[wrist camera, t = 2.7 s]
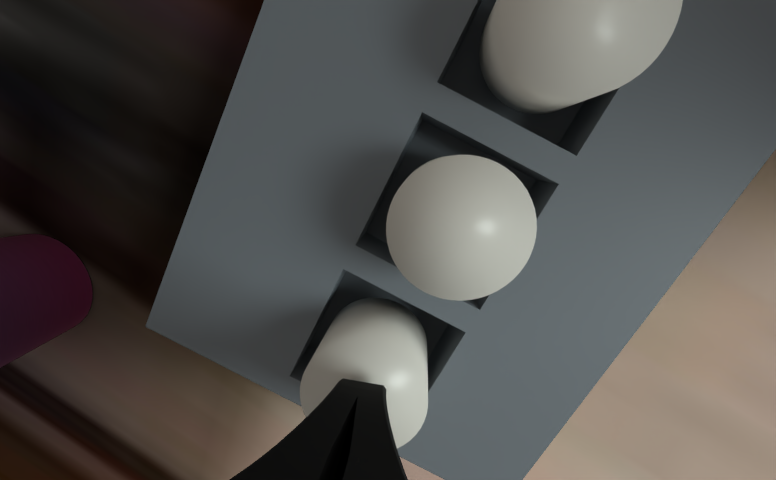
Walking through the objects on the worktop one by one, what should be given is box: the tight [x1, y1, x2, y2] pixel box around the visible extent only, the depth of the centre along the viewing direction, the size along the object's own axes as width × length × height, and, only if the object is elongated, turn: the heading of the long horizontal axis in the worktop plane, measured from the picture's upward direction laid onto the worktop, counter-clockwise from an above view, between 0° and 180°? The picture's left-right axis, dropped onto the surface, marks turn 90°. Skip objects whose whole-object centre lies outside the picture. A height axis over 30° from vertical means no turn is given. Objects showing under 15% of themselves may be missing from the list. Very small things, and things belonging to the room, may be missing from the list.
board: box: [145, 0, 776, 480], centre depth 13 cm, size 16×25×3 cm, turn 153°
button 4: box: [300, 297, 428, 449], centre depth 13 cm, size 4×4×3 cm
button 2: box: [479, 0, 683, 114], centre depth 10 cm, size 4×4×3 cm
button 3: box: [386, 155, 537, 301], centre depth 11 cm, size 4×4×3 cm
